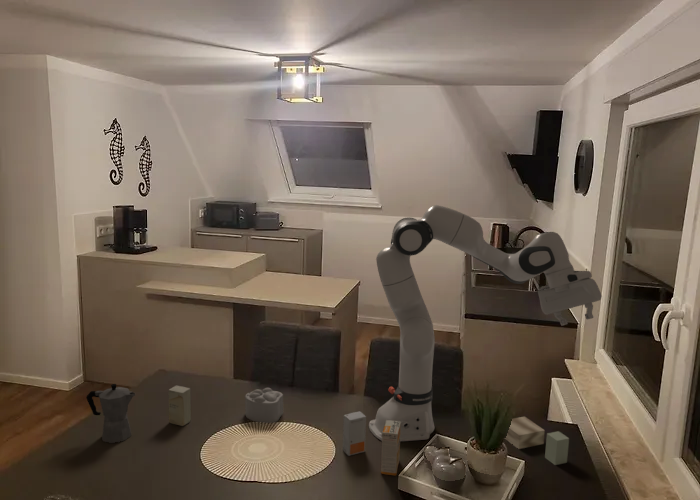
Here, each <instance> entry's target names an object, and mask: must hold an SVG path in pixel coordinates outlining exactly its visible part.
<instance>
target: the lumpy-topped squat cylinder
mask: <svg viewBox="0 0 700 500" xmlns="http://www.w3.org/2000/svg"><path fill="white" fill-rule="evenodd" d="M244 398H245V402H244V405H245V406H244V407H245V416H246V418H247V419H249V420H250V421H252V422H257V423H264V424H265V423H268V424H272V423H276V422H278V421H279V419H280V417H282V415H283V414H284V394H283V393H282V392H280V391H276V390H273V389H272V388H270V387H265V388H263V389H257V388H256V389H254V390H253V391H250V392H247V393H246V394H245V395H244Z"/></svg>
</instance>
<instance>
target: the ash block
mask: <svg viewBox="0 0 700 500" xmlns="http://www.w3.org/2000/svg"><path fill="white" fill-rule="evenodd" d="M511 419H512V421H511V425H510V427H509V430H508V433H507V436H506V438H504V439H505V440H506V441H508V442H509V444H511V445H512V444H513V445H512V446H513V447H515V448H516V449H517V448H518V450H521V449H525V448H530V447H535V446H540V445H544V444H545V432H546V431H545V429H544V428H542V427H541V426H539V425H538V424H536V423H535V422H534V421H532V420H531V419H529V418H528V417H526V416H525V415H524V416H521V417H520V416H519V417H514V418H511Z"/></svg>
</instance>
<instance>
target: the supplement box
mask: <svg viewBox="0 0 700 500" xmlns="http://www.w3.org/2000/svg"><path fill="white" fill-rule="evenodd" d="M400 431H401V422H400V421H391V420H386V422H385V425H384V428H383V432H382V441H381V458H380V459H381V460H380V461H381V463H380V465H381V466H380V473H381V474H382V475H387V476H388V475H389V476H397V473H398V467H399V464H400V453H401V452H400V451H401V449H400V448H401V441H400Z"/></svg>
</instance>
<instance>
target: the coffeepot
mask: <svg viewBox="0 0 700 500" xmlns="http://www.w3.org/2000/svg"><path fill="white" fill-rule="evenodd" d="M110 387H111V388H106V389H104V390H91V391H90V392H89V393H88V394H86V401H87V402H88V405H89V407H90V410H91V412H92V414H93V415H94V416H101V414H102V415H103V418H104V419H103V427H102V435H101V436H102V438H101V439H102V441H103V442H104V441H105V443H106V442H109V443H108V444H115V442H118V443H121V442H124V441H126V440H128V439H129V438H130V437H131V436H132V430H131V426H130V425H131V424H130V422H129V417H128V410H129V409H128V408H129V405H130V403H131V401H132V398H133V397H134V396H136V393H135V392H134V391H130V389H129V388H127V387H121V386H117V383H112V384H110ZM93 397H95V398H99V401H100V402H99V403H100V406H101V410H102V413H101V412H99V411H97V407H96V405H95V402H94V399H93ZM127 438H128V439H127ZM120 441H121V442H120Z"/></svg>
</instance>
